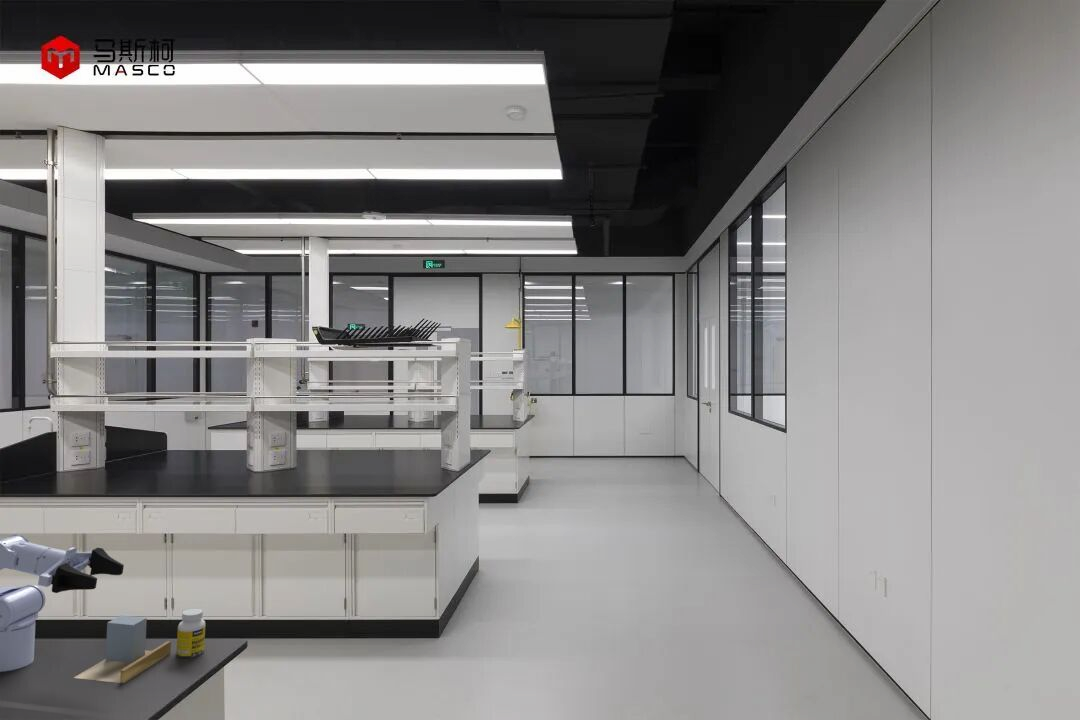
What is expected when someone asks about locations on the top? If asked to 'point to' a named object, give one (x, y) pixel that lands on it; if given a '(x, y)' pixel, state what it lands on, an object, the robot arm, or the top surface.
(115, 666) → the shelf board
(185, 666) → the top surface
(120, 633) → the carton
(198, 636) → the supplement bottle
